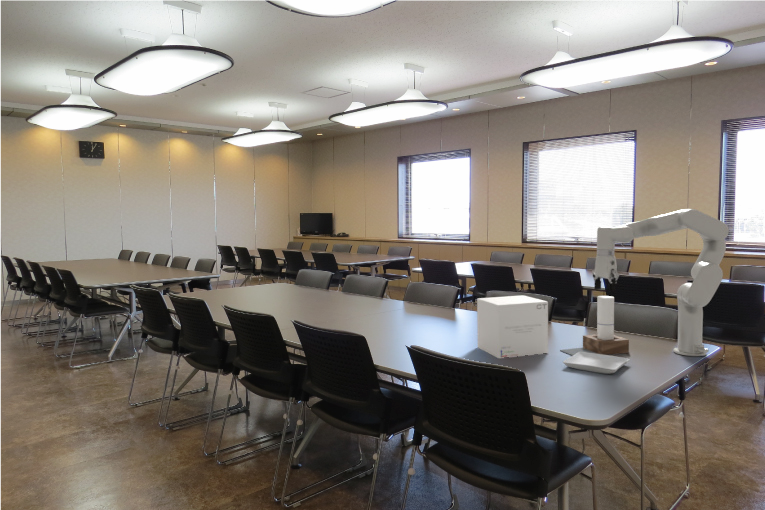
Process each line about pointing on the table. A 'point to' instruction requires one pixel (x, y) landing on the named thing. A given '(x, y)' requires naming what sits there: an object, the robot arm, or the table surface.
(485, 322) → the cube
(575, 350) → the mat
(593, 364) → the salad plate
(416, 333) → the table surface
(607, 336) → the cylindrical container
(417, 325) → the table surface
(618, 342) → the collar
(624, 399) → the table surface
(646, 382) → the table surface
